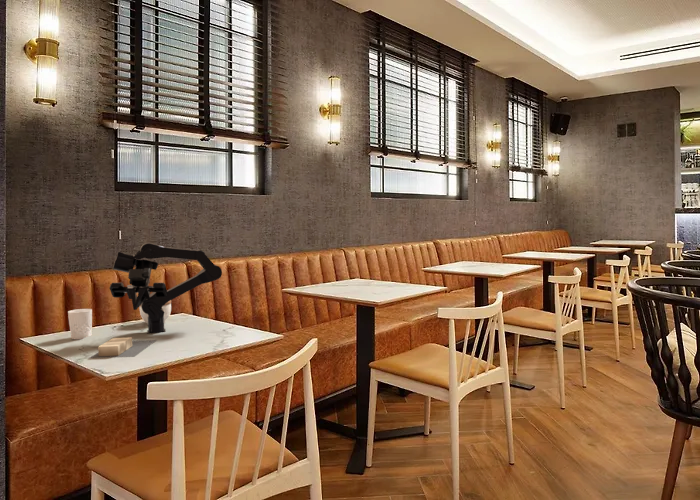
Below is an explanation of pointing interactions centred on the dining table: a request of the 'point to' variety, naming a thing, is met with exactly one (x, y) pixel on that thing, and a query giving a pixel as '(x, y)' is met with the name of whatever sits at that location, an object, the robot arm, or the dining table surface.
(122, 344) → the birch block
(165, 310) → the lidded bowl
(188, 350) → the dining table surface
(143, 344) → the rubber mat
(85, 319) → the white cup
